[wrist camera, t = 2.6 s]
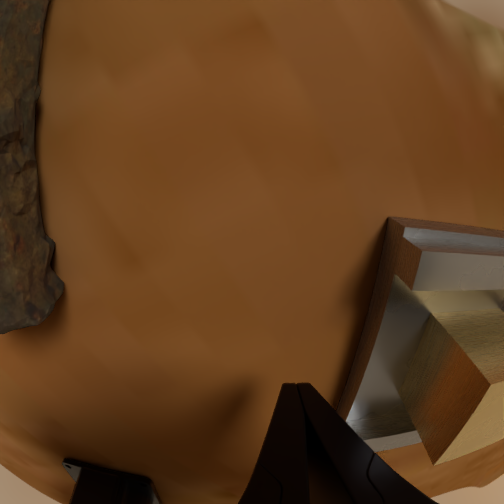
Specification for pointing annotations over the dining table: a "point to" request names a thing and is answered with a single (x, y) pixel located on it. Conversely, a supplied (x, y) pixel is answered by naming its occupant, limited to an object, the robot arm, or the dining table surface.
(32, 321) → the wooden stick
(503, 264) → the slot rail
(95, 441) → the dining table surface
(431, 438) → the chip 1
